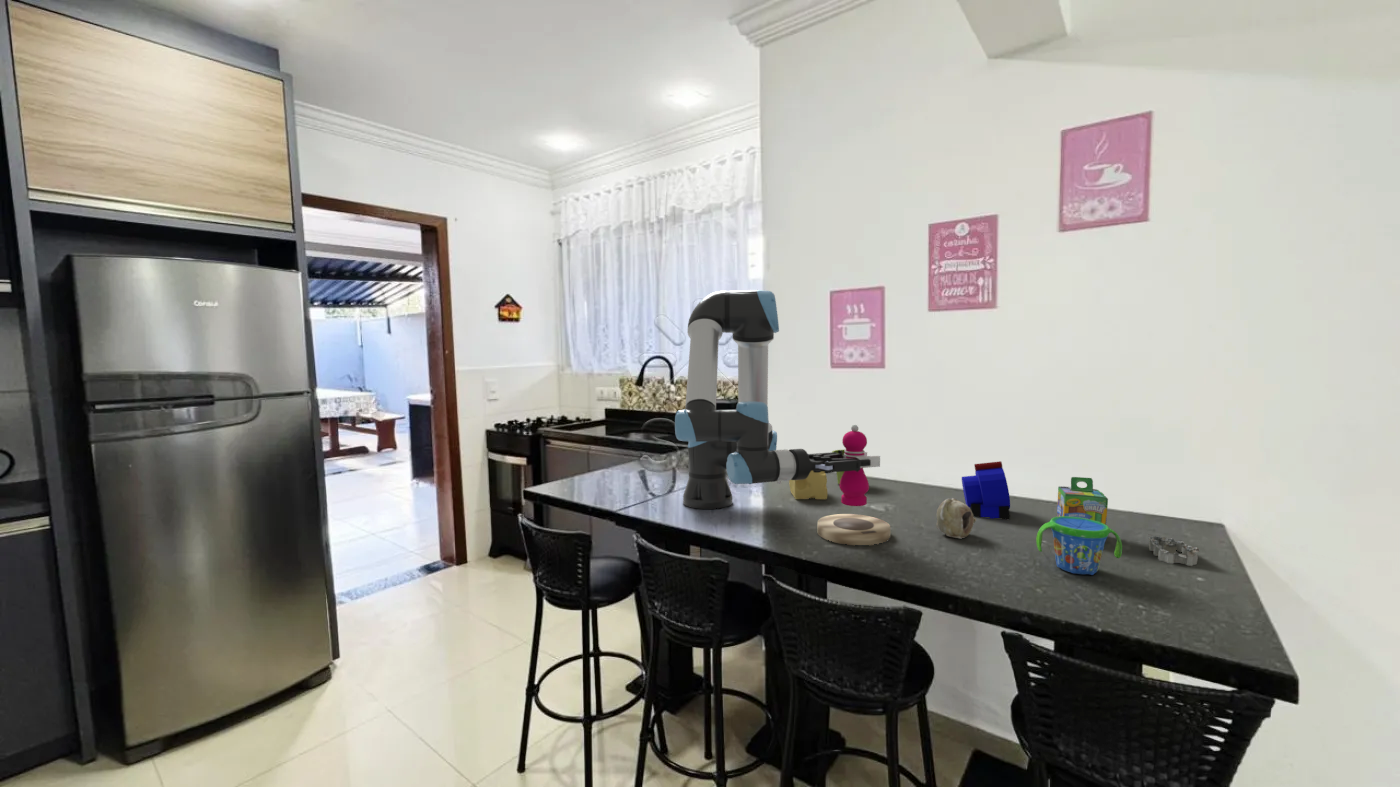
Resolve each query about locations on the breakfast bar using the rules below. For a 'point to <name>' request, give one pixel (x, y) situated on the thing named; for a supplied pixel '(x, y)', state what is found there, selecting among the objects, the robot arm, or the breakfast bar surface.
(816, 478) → the cheese
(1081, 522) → the snack cup
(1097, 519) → the chalk box
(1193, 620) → the breakfast bar surface
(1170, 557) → the egg carton
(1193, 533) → the breakfast bar surface
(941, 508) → the sea shell
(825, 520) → the oak base
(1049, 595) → the breakfast bar surface
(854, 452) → the pepper mill
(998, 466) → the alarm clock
